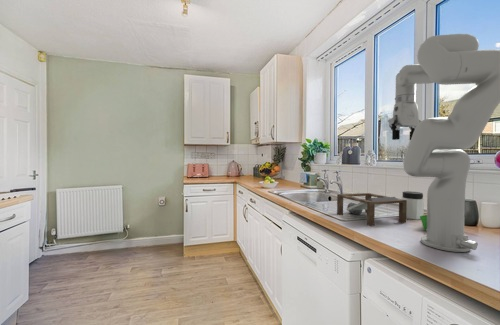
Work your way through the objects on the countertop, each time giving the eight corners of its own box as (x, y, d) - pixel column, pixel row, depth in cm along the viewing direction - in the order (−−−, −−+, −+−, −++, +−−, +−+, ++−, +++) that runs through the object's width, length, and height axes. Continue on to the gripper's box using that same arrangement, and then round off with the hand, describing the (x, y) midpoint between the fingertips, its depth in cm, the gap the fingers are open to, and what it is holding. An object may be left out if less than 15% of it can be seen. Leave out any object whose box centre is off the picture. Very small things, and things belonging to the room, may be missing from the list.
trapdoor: (397, 199, 109) (396, 196, 109) (371, 201, 105) (370, 197, 106) (370, 210, 124) (369, 207, 124) (347, 211, 120) (346, 208, 121)
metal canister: (362, 204, 123) (355, 202, 128) (353, 204, 122) (347, 202, 127) (362, 214, 123) (355, 212, 128) (353, 215, 122) (347, 212, 127)
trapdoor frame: (406, 222, 107) (406, 200, 107) (370, 226, 102) (370, 202, 102) (368, 212, 129) (368, 193, 129) (337, 214, 124) (337, 194, 123)
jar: (426, 220, 112) (427, 194, 112) (406, 219, 114) (407, 193, 113) (417, 215, 121) (417, 191, 121) (399, 215, 122) (399, 191, 122)
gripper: (396, 97, 101) (396, 138, 101) (428, 100, 106) (428, 139, 106) (382, 101, 108) (381, 140, 109) (412, 103, 113) (412, 140, 114)
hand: (404, 139), depth 107 cm, fingers open, 9 cm apart
